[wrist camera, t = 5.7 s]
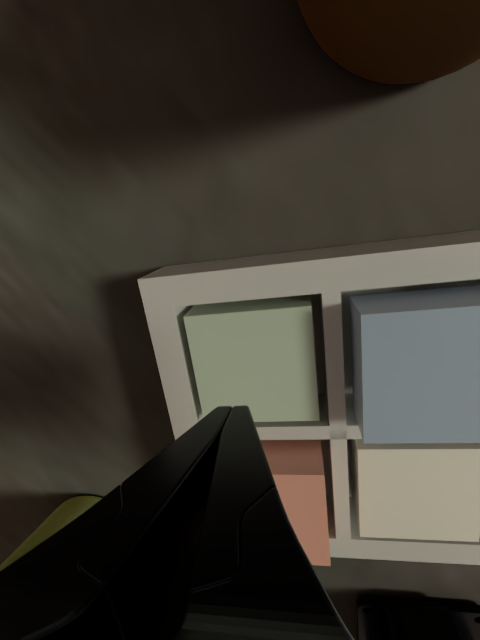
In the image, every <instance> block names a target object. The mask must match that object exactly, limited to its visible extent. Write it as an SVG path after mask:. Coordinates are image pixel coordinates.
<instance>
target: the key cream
mask: <svg viewBox="0 0 480 640" xmlns="http://www.w3.org/2000/svg"><path fill="white" fill-rule="evenodd" d="M350 453H351V480H352V499H353V504H354V509H355V514H356V519H357V524H358V529H359V534H360V537H374V538H397V539H420V540H443V541H466V542H479V538H480V443H386V444H364V443H363V440H362V439H350Z"/></svg>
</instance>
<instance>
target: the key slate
mask: <svg viewBox="0 0 480 640" xmlns="http://www.w3.org/2000/svg"><path fill="white" fill-rule="evenodd" d="M350 322H351V353H352V384H353V409H354V412H355V416H356V419H357V422H358V426H359V429H360V433H361V436H362V440H363V443H364V444H386V443H480V285H473V286H461V287H450V288H438V289H427V290H416V291H404V292H393V293H381V294H370V295H359V296H350Z"/></svg>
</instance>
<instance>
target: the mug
mask: <svg viewBox="0 0 480 640" xmlns="http://www.w3.org/2000/svg"><path fill="white" fill-rule="evenodd" d="M297 1H298V4H299V7H300V10H301V13H302V15H303V17H304V20H305V22H306V24H307V26H308V28H309V30H310V32H311V34H312V35H313V37H314V38H315V40H316V41H317V43H318V44H319V46H320V47H321V48H322V49H323V50H324V51H325V52H326V53H327V55H328V56H329V57H330V58H331V59H333V60H334V61H335V62H336V63H337V64H339V65H340V66H341V67H342V68H344V69H346V70H347V71H349V72H351V73H353V74H354V75H356V76H359V77H361V78H364V79H367V80H369V81H374V82H379V83H383V84H398V85H402V84H413V83H420V82H424V81H428V80H432V79H436V78H439V77H442V76H445V75H447V74H450V73H453V72H455V71H458V70H460V69H461V68H463V67H465V66H467V65H469V64H471V63H473V62H475V61H477V60H478V59H480V0H297Z"/></svg>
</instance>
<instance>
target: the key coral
mask: <svg viewBox="0 0 480 640" xmlns="http://www.w3.org/2000/svg"><path fill="white" fill-rule="evenodd" d="M260 441H261V444H262V446H263V449H264V452H265V455H266V458H267V461H268V464H269V467H270V470H271V473H272V475H273V478H274V481H275V484H276V488H277V489H278V492H279V495H280V498H281V501H282V504H283V506H284V509H285V511H286V514H287V516H288V519H289V521H290V523H291V525H292V527H293V529H294V532H295V534H296V536H297V538H298V540H299V542H300V544H301V546H302V548H303V549H304V551H305V553H306V555H307V557H308V559H309V561H310V562H311V564H312V565H320V566H331V562H330V547H329V533H328V518H327V504H326V489H325V475H324V466H323V457H322V448H321V440H260Z"/></svg>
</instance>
